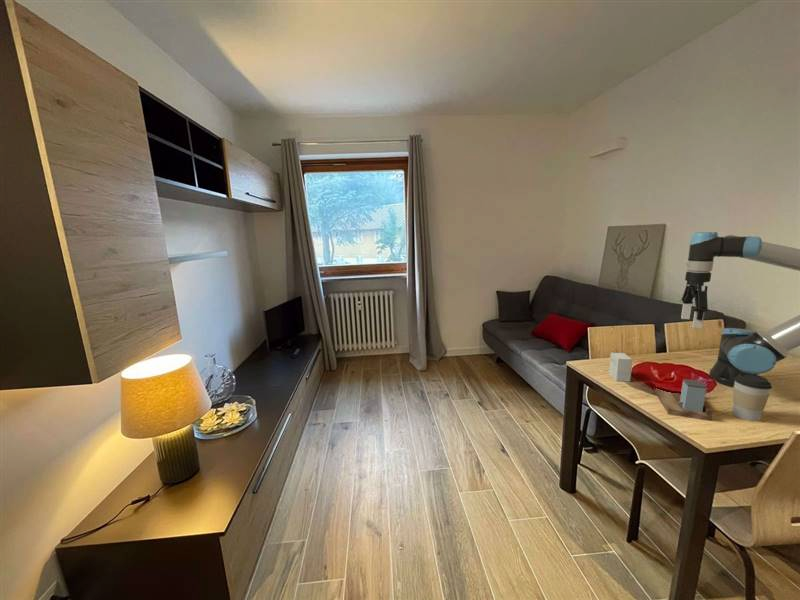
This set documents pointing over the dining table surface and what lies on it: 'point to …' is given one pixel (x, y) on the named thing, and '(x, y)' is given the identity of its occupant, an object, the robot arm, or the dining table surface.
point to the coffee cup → (750, 396)
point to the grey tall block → (692, 395)
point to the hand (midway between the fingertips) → (690, 323)
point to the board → (674, 408)
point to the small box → (620, 367)
